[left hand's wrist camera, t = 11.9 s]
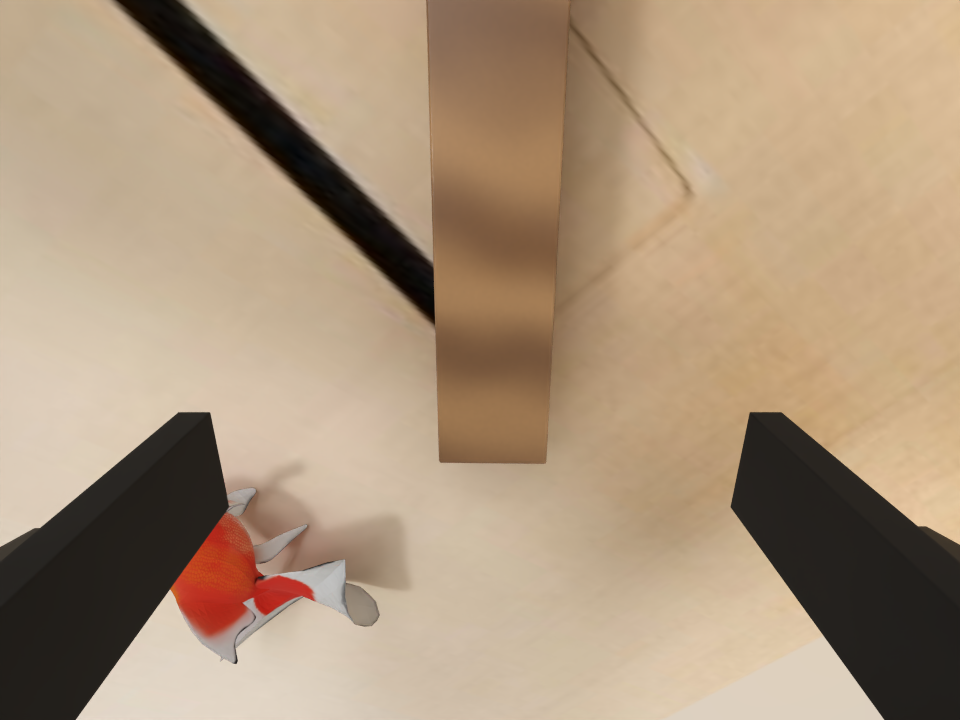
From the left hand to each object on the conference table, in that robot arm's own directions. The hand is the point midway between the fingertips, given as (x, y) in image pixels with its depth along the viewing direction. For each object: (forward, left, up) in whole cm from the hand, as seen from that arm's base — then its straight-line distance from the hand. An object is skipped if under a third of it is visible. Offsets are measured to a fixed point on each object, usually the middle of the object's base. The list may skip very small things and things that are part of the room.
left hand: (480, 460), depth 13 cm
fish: (-15, -15, -18) cm, 28 cm away
